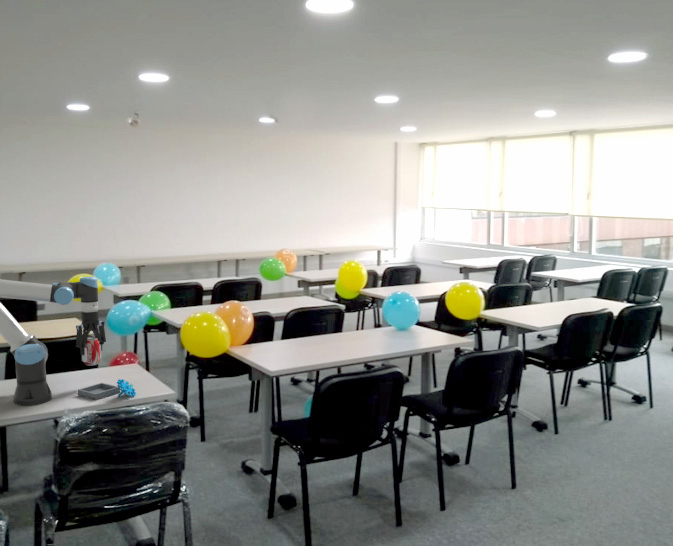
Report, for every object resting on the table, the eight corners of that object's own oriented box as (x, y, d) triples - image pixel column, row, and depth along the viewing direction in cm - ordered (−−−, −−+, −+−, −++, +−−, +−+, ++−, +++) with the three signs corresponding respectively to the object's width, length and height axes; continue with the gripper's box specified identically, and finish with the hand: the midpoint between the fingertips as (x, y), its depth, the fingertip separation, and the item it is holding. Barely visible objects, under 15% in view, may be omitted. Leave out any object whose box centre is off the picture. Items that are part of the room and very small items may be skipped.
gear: (130, 396, 287) (115, 379, 288) (121, 406, 287) (105, 389, 288) (141, 392, 298) (126, 376, 299) (132, 401, 298) (118, 385, 299)
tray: (96, 400, 288) (95, 394, 287) (78, 395, 295) (77, 389, 294) (120, 392, 298) (119, 386, 298) (102, 388, 305) (101, 382, 305)
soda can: (102, 364, 307) (101, 339, 306) (86, 367, 303) (85, 341, 301) (97, 361, 313) (96, 336, 311) (82, 363, 309) (81, 338, 307)
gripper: (75, 314, 294) (77, 365, 297) (113, 308, 311) (115, 356, 314) (65, 313, 299) (67, 363, 301) (103, 306, 315) (104, 354, 318)
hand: (91, 359), depth 308 cm, fingers closed on soda can, 7 cm apart
